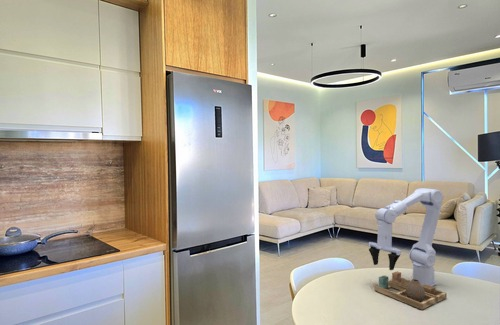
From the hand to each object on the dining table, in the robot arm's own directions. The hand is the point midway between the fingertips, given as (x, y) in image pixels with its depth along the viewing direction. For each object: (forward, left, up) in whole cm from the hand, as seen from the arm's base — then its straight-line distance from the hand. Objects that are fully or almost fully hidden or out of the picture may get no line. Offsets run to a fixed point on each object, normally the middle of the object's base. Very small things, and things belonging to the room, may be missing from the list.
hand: (383, 267), depth 137 cm
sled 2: (-10, +9, -10) cm, 17 cm away
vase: (0, +14, -10) cm, 17 cm away
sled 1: (0, +9, -10) cm, 13 cm away
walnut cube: (-10, +14, -10) cm, 20 cm away
